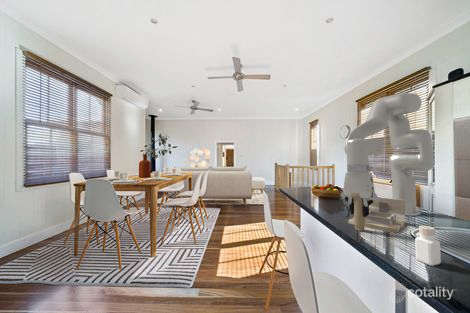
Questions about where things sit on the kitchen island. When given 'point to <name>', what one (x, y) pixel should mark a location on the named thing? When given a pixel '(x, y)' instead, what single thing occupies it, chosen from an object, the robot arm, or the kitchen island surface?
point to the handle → (358, 212)
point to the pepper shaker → (427, 246)
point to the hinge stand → (385, 215)
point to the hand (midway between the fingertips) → (359, 214)
